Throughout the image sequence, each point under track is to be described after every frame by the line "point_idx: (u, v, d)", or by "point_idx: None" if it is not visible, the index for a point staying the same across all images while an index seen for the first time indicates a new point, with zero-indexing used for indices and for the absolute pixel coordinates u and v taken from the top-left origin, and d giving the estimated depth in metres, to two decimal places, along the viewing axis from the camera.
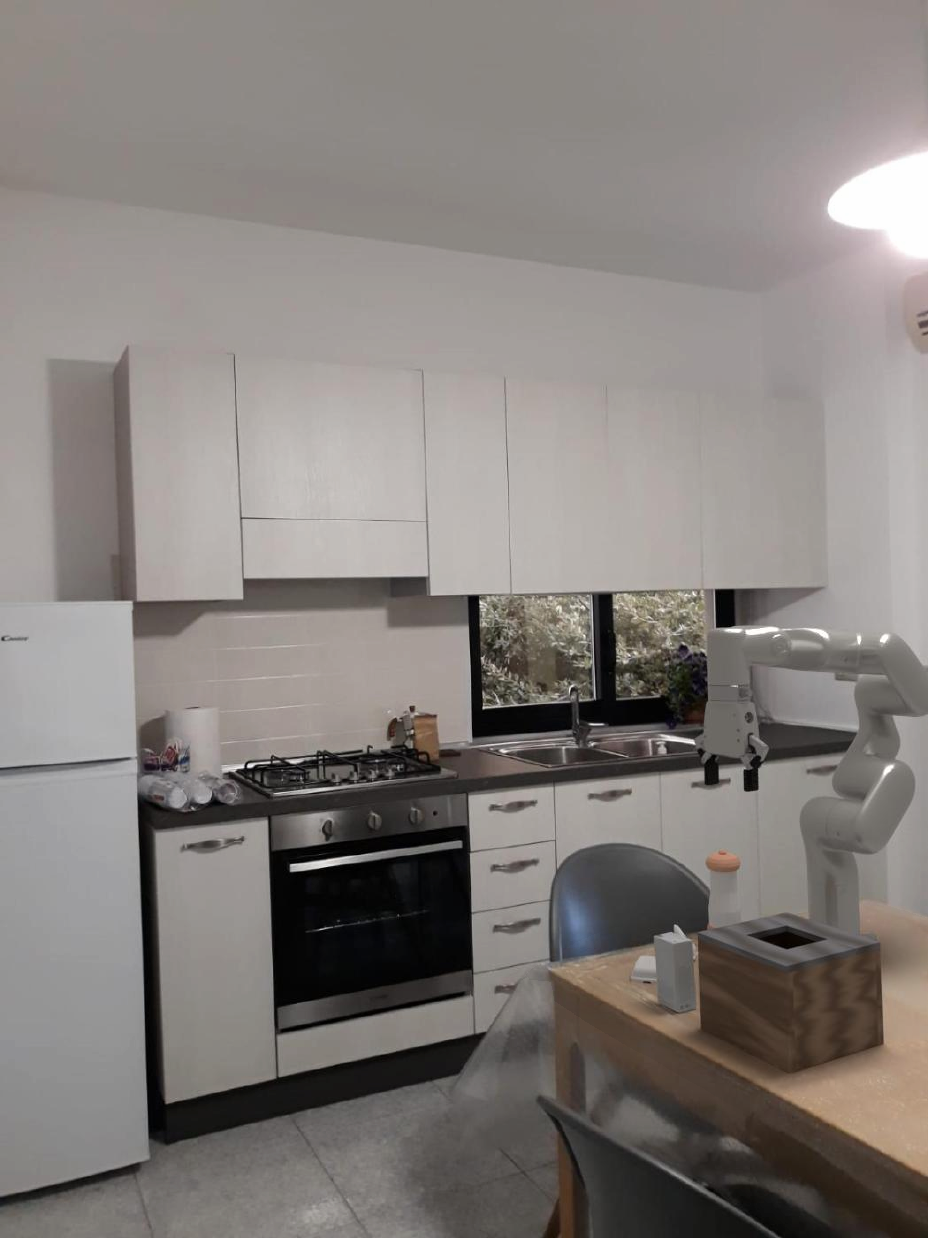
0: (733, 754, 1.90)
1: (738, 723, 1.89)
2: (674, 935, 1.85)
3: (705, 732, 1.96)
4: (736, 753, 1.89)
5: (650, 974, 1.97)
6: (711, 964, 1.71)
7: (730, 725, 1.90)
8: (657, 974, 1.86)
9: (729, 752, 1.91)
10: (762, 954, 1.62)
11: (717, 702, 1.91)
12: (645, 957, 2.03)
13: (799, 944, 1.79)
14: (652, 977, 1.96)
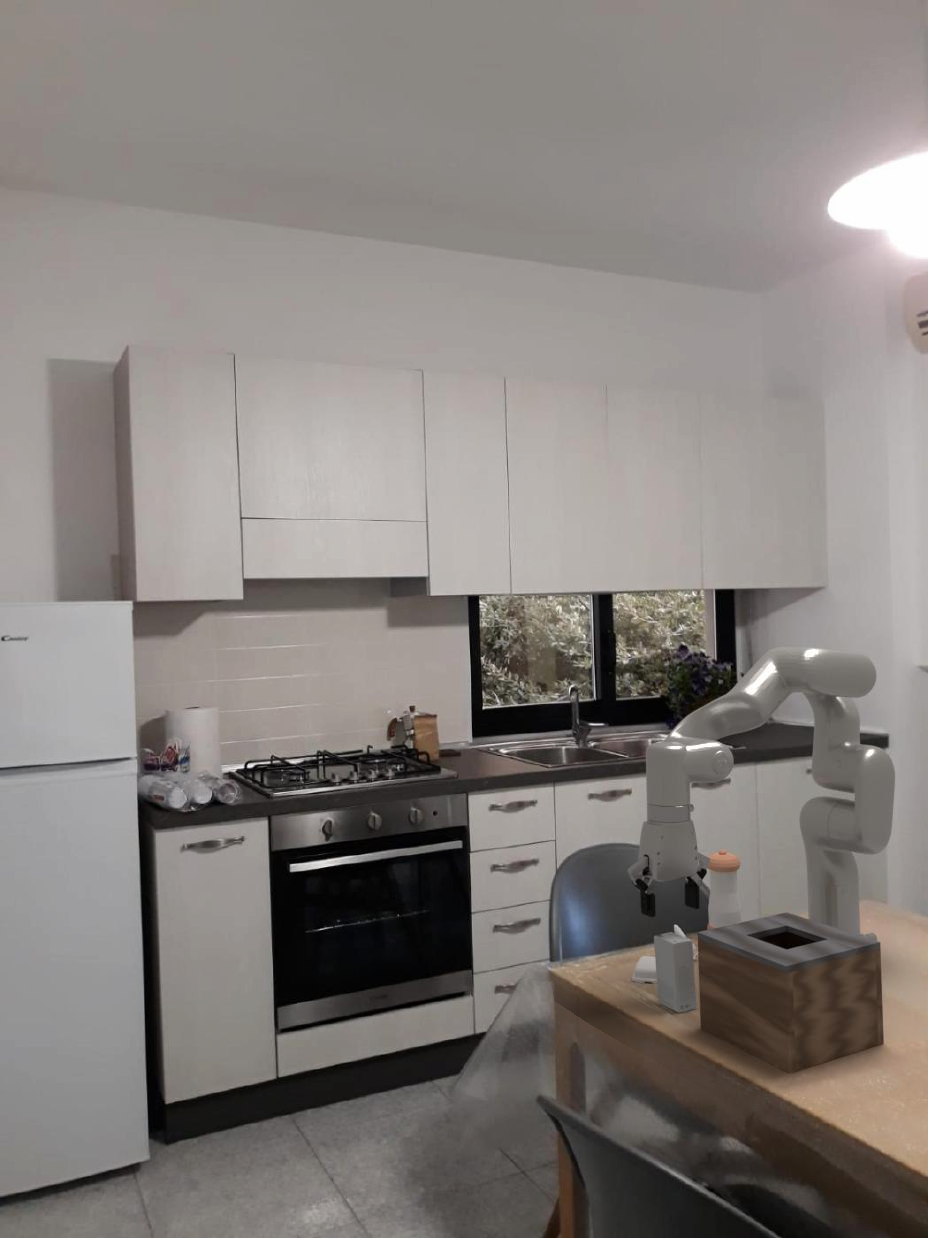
0: (689, 874, 1.84)
1: (695, 840, 1.84)
2: (674, 935, 1.85)
3: (658, 859, 1.80)
4: (692, 872, 1.84)
5: (651, 974, 1.96)
6: (711, 964, 1.71)
7: (689, 844, 1.83)
8: (657, 974, 1.86)
9: (685, 873, 1.83)
10: (762, 954, 1.62)
11: (685, 823, 1.81)
12: (646, 958, 2.03)
13: (799, 944, 1.79)
14: (653, 977, 1.96)
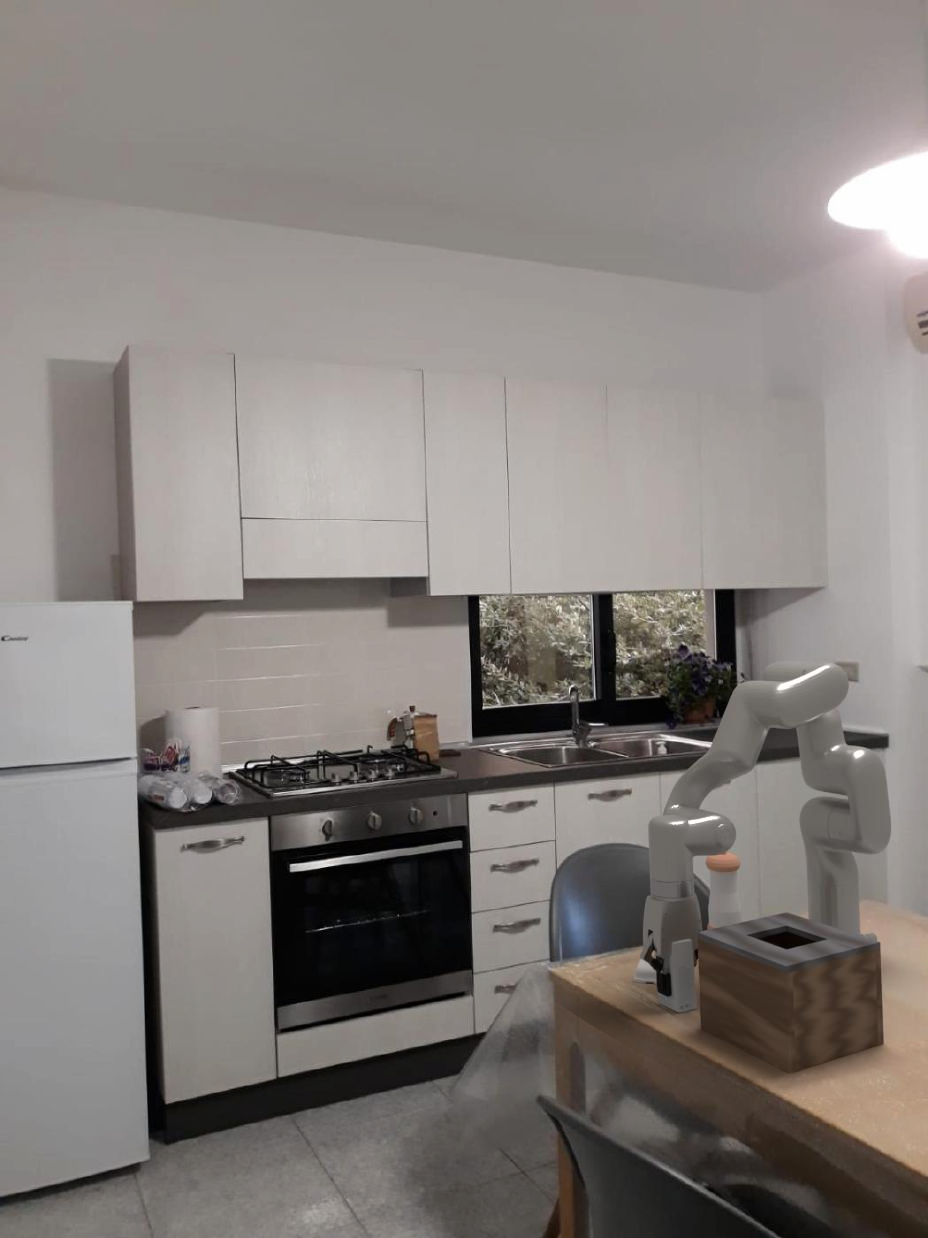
0: (693, 947, 1.84)
1: (699, 914, 1.84)
2: None
3: (662, 935, 1.81)
4: (697, 945, 1.84)
5: (653, 974, 1.96)
6: (711, 964, 1.71)
7: (693, 918, 1.83)
8: None
9: None
10: (762, 954, 1.62)
11: (689, 898, 1.81)
12: None
13: (799, 944, 1.79)
14: (655, 978, 1.96)
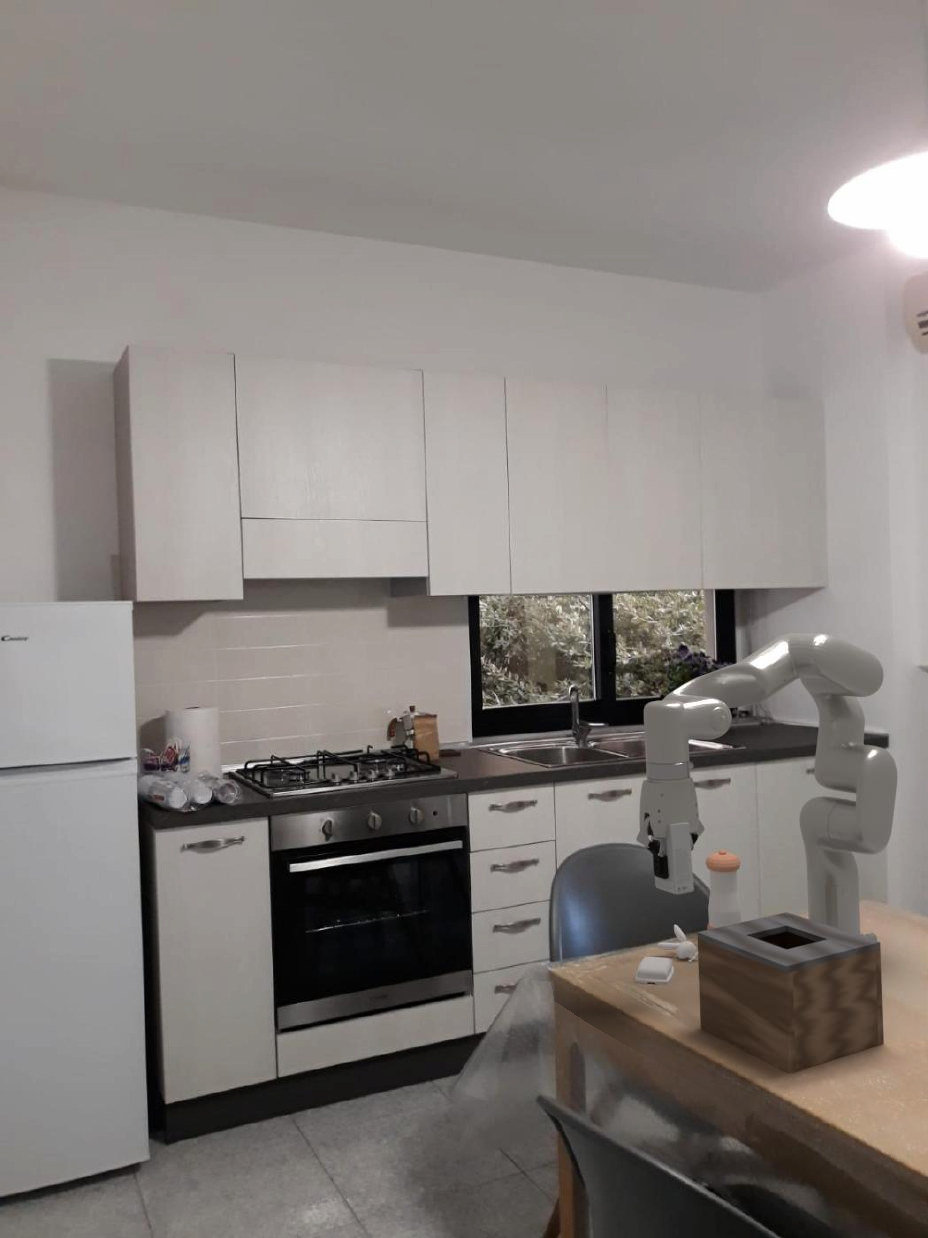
0: (690, 831, 1.84)
1: (695, 797, 1.84)
2: None
3: (659, 816, 1.81)
4: (693, 829, 1.84)
5: (654, 975, 1.96)
6: (711, 964, 1.71)
7: (689, 801, 1.83)
8: None
9: None
10: (762, 954, 1.62)
11: (685, 780, 1.81)
12: (649, 958, 2.02)
13: (799, 944, 1.79)
14: (656, 978, 1.96)
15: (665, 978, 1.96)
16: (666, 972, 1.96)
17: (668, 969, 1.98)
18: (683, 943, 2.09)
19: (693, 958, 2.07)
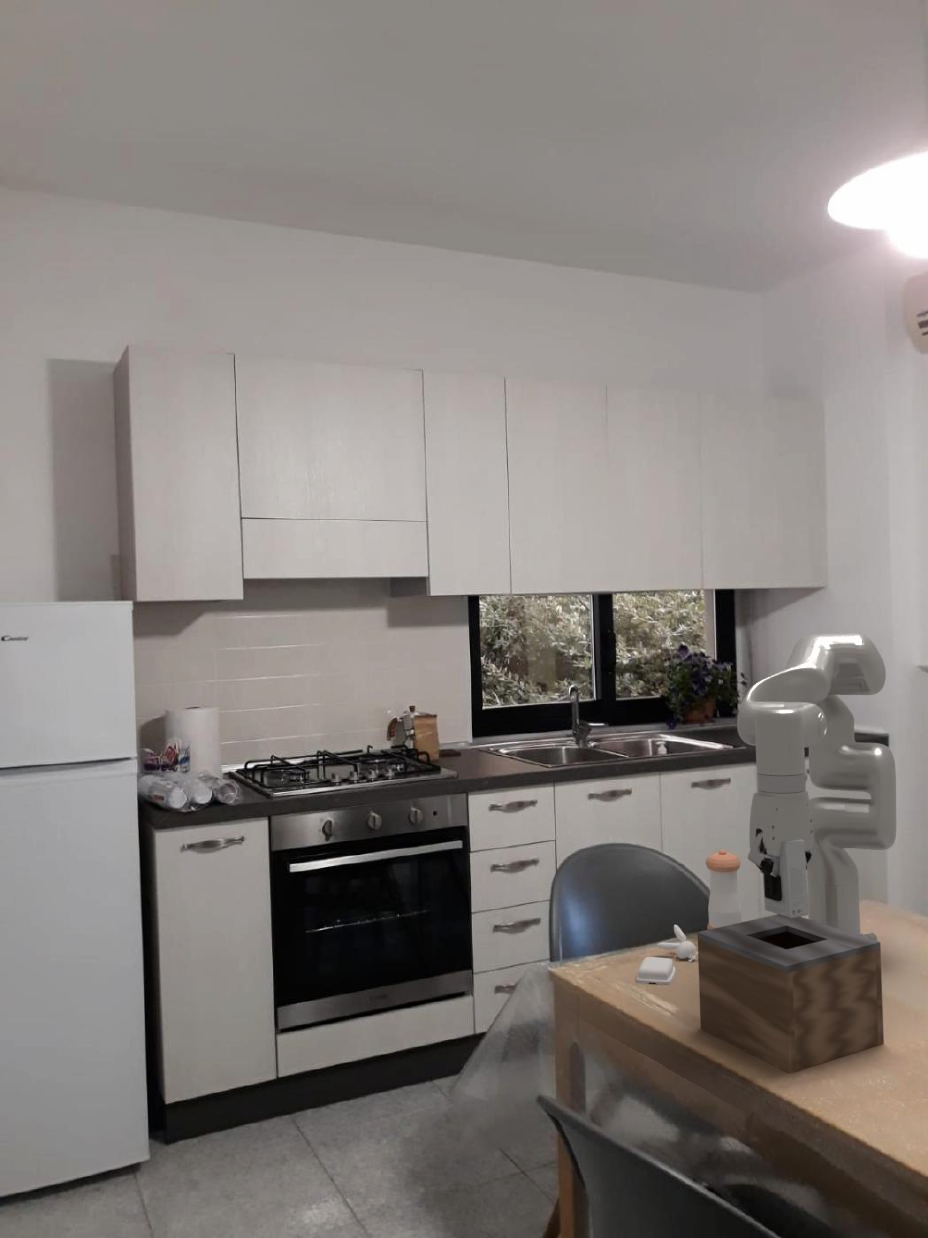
0: None
1: (810, 812, 1.70)
2: None
3: (773, 833, 1.66)
4: (808, 847, 1.70)
5: (656, 975, 1.96)
6: (711, 964, 1.71)
7: (804, 817, 1.69)
8: None
9: None
10: (762, 954, 1.62)
11: (801, 793, 1.67)
12: (650, 959, 2.02)
13: (799, 944, 1.79)
14: (658, 978, 1.96)
15: (666, 978, 1.95)
16: (667, 972, 1.96)
17: (669, 969, 1.98)
18: (683, 943, 2.09)
19: (693, 958, 2.07)
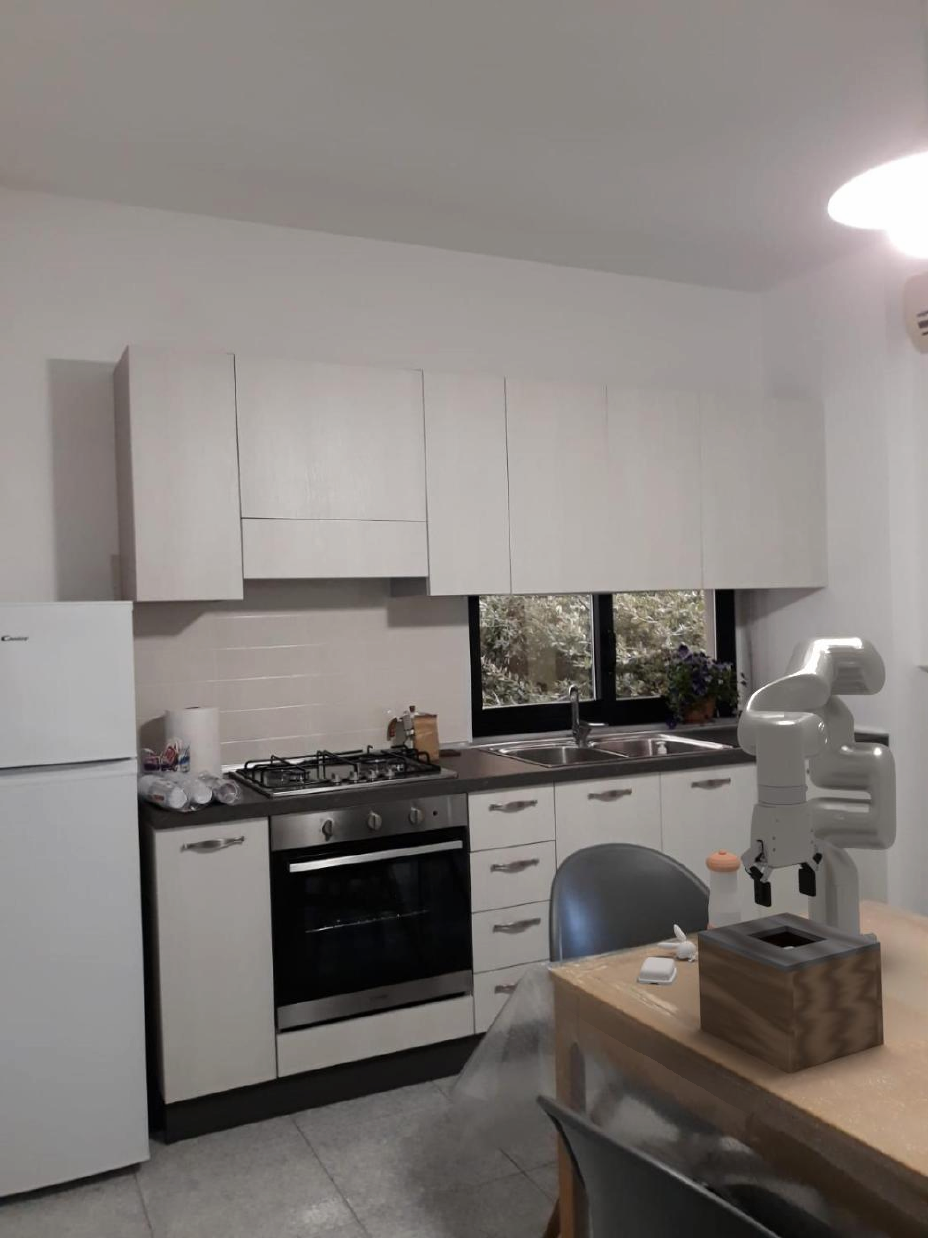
0: (805, 859, 1.70)
1: (811, 823, 1.70)
2: None
3: (774, 844, 1.66)
4: (809, 857, 1.70)
5: (657, 975, 1.96)
6: (711, 964, 1.71)
7: (805, 827, 1.69)
8: None
9: (801, 858, 1.69)
10: (762, 954, 1.62)
11: (802, 804, 1.67)
12: (651, 959, 2.02)
13: (799, 944, 1.79)
14: (659, 978, 1.96)
15: (668, 978, 1.95)
16: (669, 972, 1.96)
17: (671, 970, 1.97)
18: (683, 943, 2.09)
19: (693, 958, 2.07)
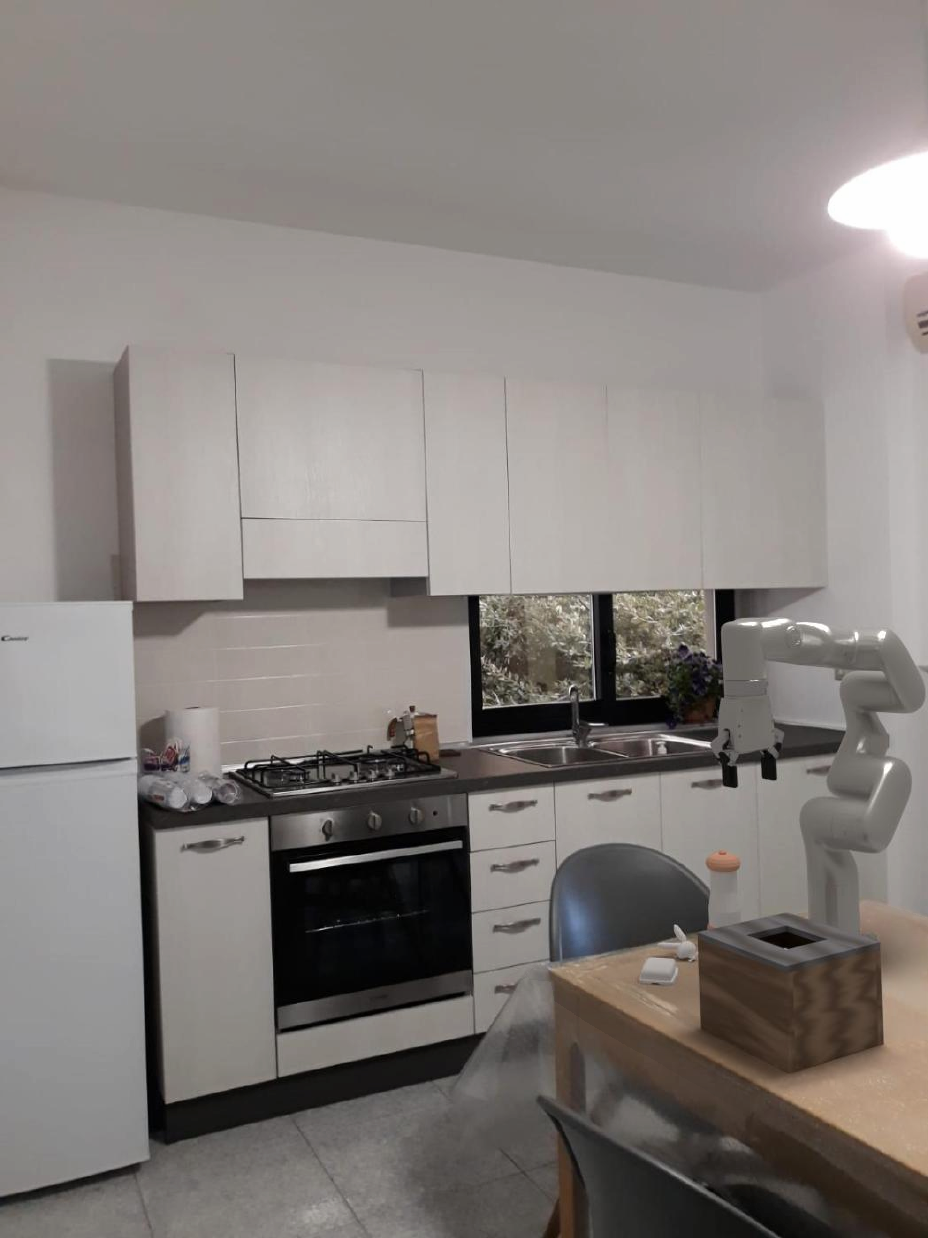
0: (767, 746, 1.90)
1: (771, 714, 1.90)
2: None
3: (739, 731, 1.86)
4: (770, 744, 1.90)
5: (658, 975, 1.96)
6: (711, 964, 1.71)
7: (766, 717, 1.89)
8: None
9: (764, 745, 1.89)
10: (762, 954, 1.62)
11: (763, 696, 1.87)
12: (653, 959, 2.02)
13: (799, 944, 1.79)
14: (660, 979, 1.95)
15: (669, 979, 1.95)
16: (670, 973, 1.96)
17: (672, 970, 1.97)
18: (683, 943, 2.09)
19: (693, 958, 2.07)
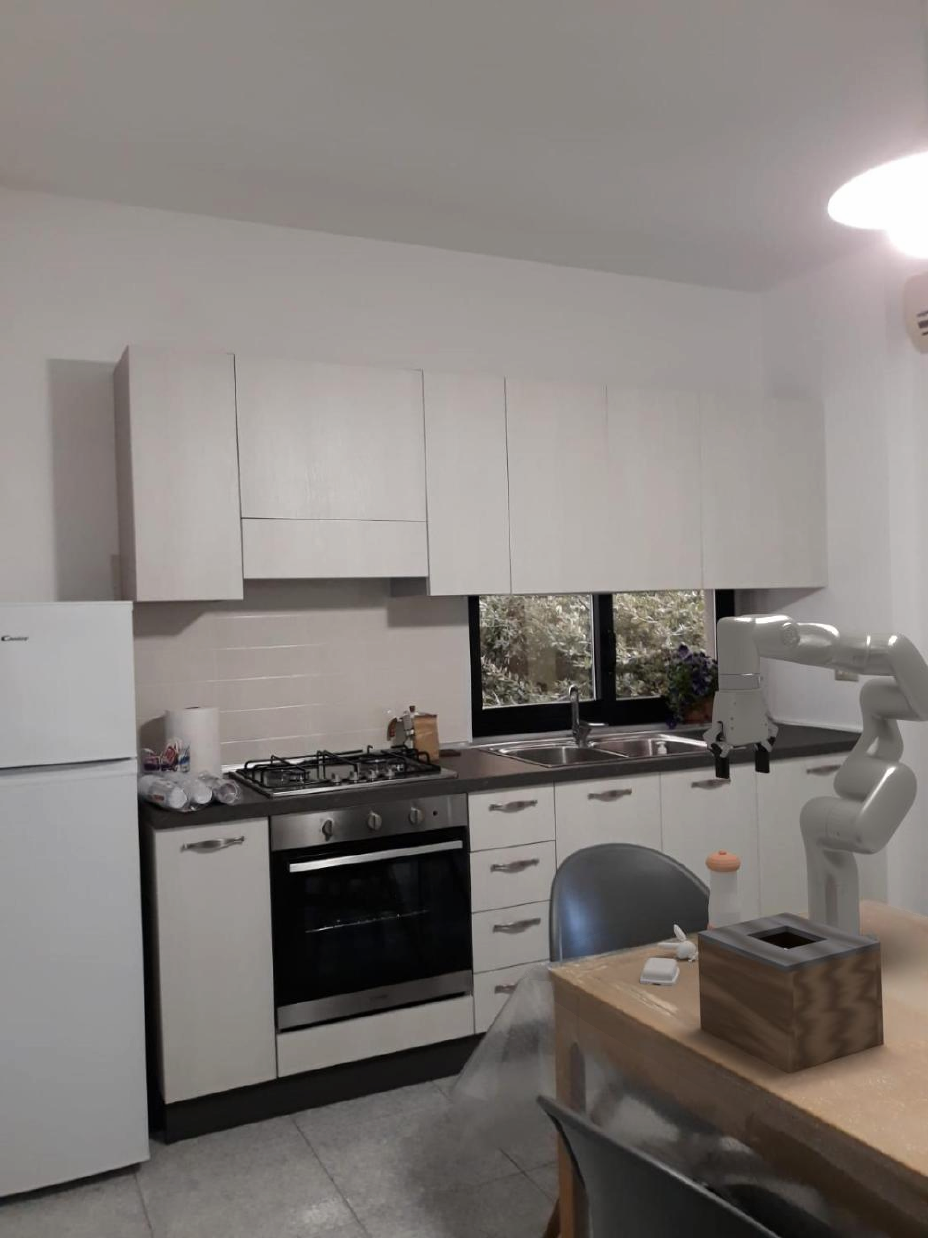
0: (760, 739, 1.94)
1: (765, 708, 1.95)
2: None
3: (732, 724, 1.91)
4: (763, 738, 1.95)
5: (660, 976, 1.95)
6: (711, 964, 1.71)
7: (759, 711, 1.94)
8: None
9: (756, 738, 1.94)
10: (762, 954, 1.62)
11: (756, 690, 1.92)
12: (654, 959, 2.02)
13: (799, 944, 1.79)
14: (662, 979, 1.95)
15: (670, 979, 1.95)
16: (671, 973, 1.95)
17: (673, 970, 1.97)
18: (683, 943, 2.09)
19: (693, 958, 2.07)
